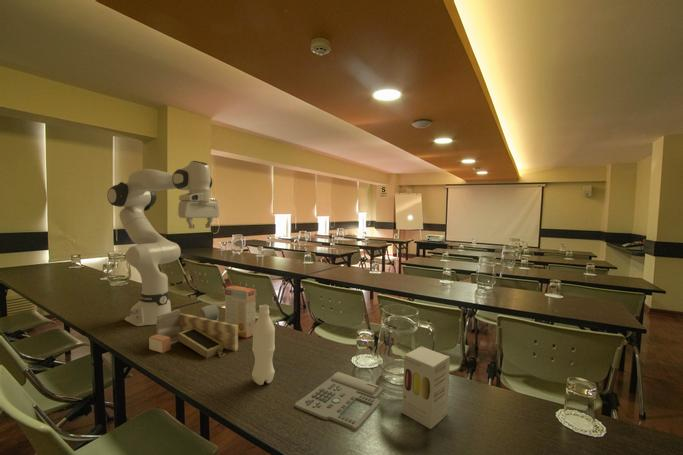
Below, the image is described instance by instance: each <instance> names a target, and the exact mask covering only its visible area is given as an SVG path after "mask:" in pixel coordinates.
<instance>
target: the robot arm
mask: <svg viewBox="0 0 683 455" xmlns="http://www.w3.org/2000/svg"><path fill="white" fill-rule="evenodd" d="M212 186H213V178H212V176H211V169H210V165H209V164H208V163H206V162H203V161H199V160H198V161H197V160H192V161H190V162H189V164H188V165H186V166H185V167H183V168H179V169H175V171H174V172H173V173H170V172H166V171H162V170H159V169H154V168H144V169H139V170H135V171H133V172H131V173H130V174H129V176H128V180H127V182H126V183H124V182H123V181H121V182H119V183H118V184H115V185H113V186H111V187H110V188H108V190H107V195H106V196H107V200H108V203H110V205H111V206H113V207H119V208H122V207H124V208H122V209H121V210H120V212H119V219H120V222H121V225H122V227H123V228H124V230H125V232H126V234H127V235H128V237H129V238H130V239H131V241H132V242H133V243H134V244H136V245H133V246H130V247H129V248H128V249H127V251H126V253H125V259H126V262H127V263H128V264H129V265H130V266H131V267H133V268H134V269H135V270H136V271H137V272H138V274H139V275H140V278H141V293H139V294H138V296H139V301H138V302H137V303H135V304H134V305H133V306H132V307H131V308H130V315H127V316H126V317H125V318H124V321H126V322H128V323H130V324H132V325H134V326H136V327H141V326H153V325H156V316H158V315H162V314H165V313H168V312H171V311H172V305H171V300H170V299H169V298H170V291H169V278H168V275H167V274H166V273H164V272H162V271H160V269H159V265H164V264H169V263H172V262H175V261H177V260H178V259H179V258H180V257H181V254H182V253H181V252H182V251H181V250H182V249H181V247H180V245H179V244H177V243H176V242H174V241H171V240H168V239H167V238H166V237H164V236H163V235H161V234H160V233H159V232H157V231H156V229H155V228H154V227H153V225H152V224H151V222H150V221H149V220H148V218H147V217H146V215H145V212H147V211H149V210H150V209H151V208H152V207H153V206H154V205H155V204H156V202H157V199H158V198H157V197H158V196H157V193H156V192H159V191H167V190H174V189H177V190H180V191H188V192H187V193H184V194H181V195H179V196H178V200H179V203H178V207H177V209H178V212H177V213H178V217H179V218H181V219H185V220H186V223H187V224H188V229H190V230H191V229H192V230H193V229H195V224H194V223H193V219H206V221H207V222H206V223H205V228H207V229H210V228H211V227H212V226H211V225H212V222H213V220H214V219H217V218H219V216H220V210H219V209H220V208H219V204H218V201H217V199H216V198H212V196H211V193H212V192H211V188H212ZM144 211H145V212H144Z"/></svg>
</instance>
